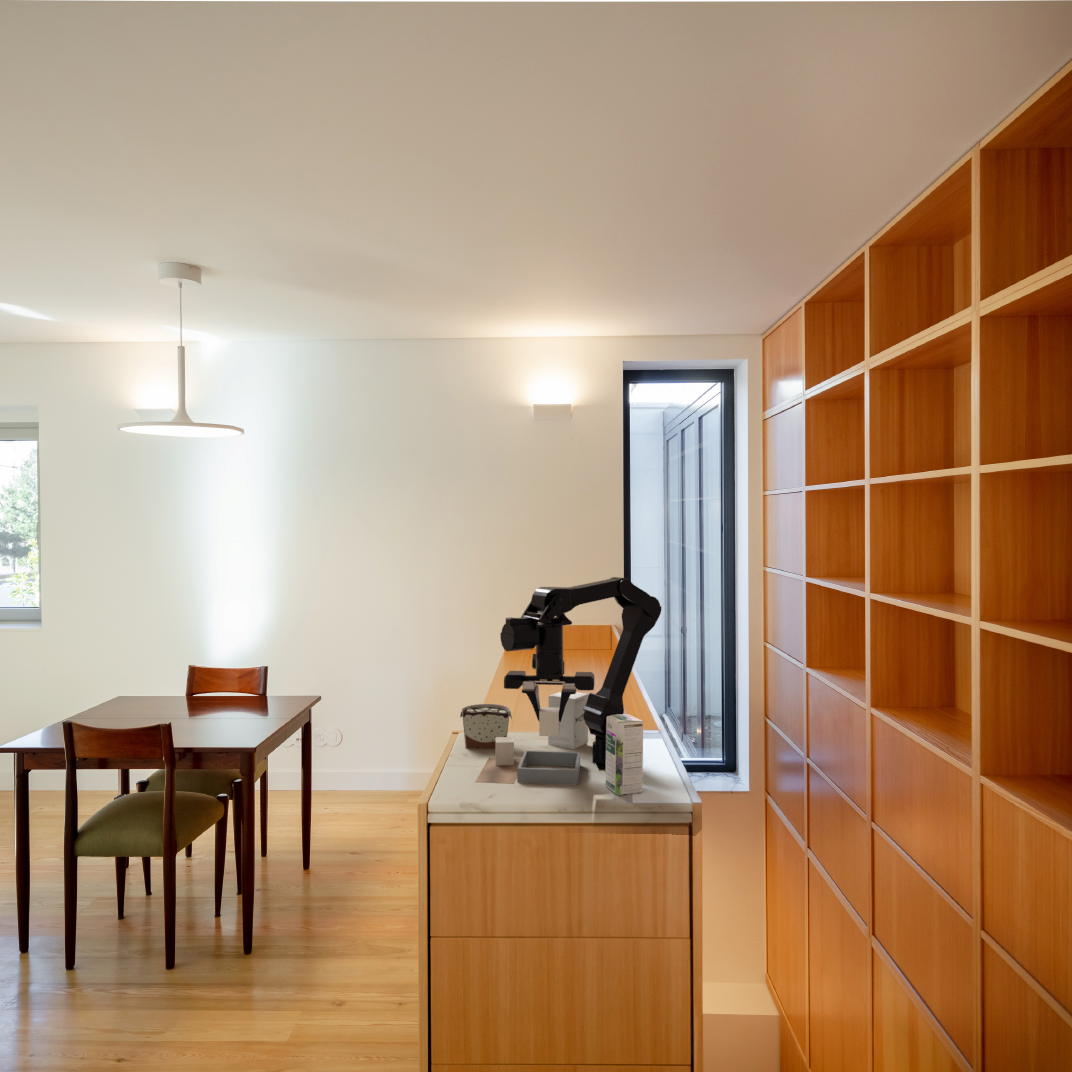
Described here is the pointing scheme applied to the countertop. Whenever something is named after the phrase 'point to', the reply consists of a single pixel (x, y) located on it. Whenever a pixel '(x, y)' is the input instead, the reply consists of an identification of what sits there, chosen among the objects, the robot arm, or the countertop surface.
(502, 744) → the cream white block
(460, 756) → the countertop surface
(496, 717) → the food container
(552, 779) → the bin
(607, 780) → the syrup box
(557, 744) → the supplement box
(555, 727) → the stone
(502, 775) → the brown rectangular board
